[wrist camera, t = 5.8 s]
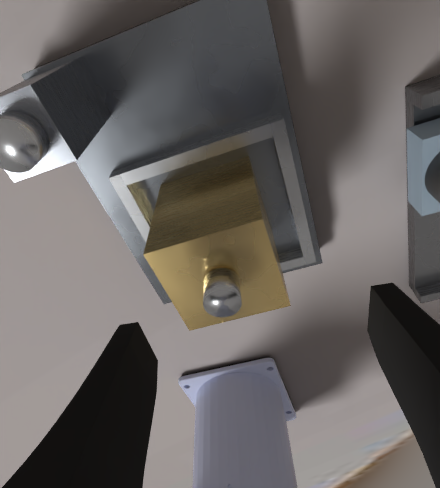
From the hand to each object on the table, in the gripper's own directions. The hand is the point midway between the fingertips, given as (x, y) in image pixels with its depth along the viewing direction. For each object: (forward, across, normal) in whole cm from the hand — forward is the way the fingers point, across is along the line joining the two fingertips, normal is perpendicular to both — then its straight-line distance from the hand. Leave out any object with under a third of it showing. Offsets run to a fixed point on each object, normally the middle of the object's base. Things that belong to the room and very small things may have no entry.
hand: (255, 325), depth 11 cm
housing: (+8, +1, 0) cm, 8 cm away
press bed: (+10, +2, -1) cm, 10 cm away
